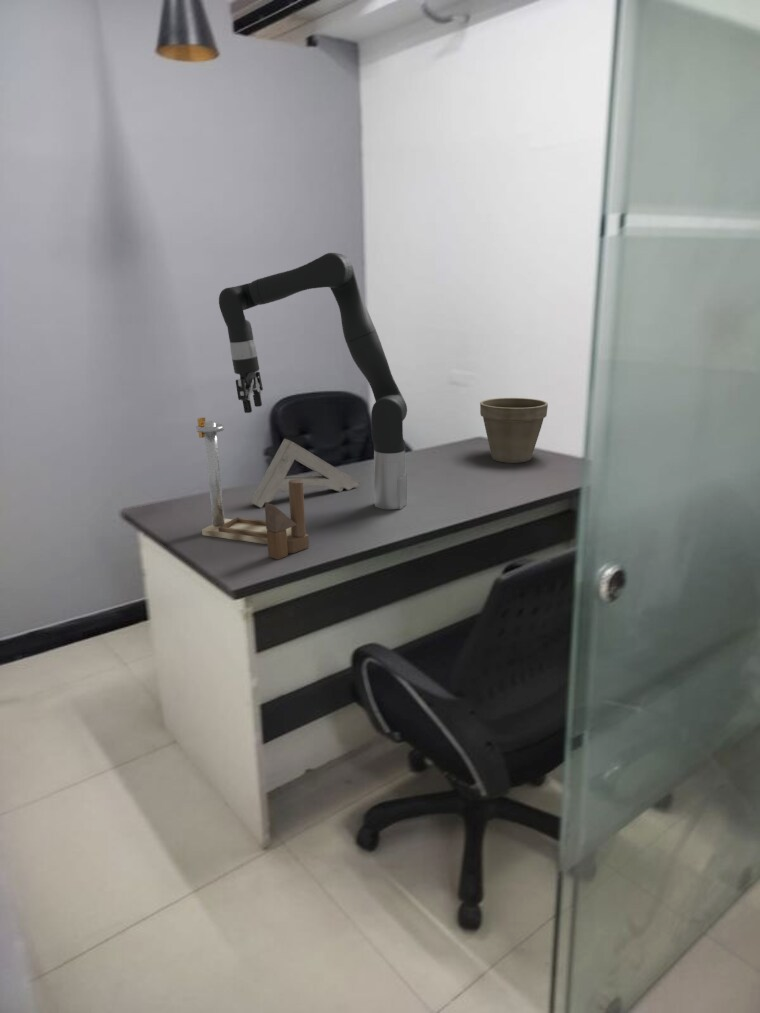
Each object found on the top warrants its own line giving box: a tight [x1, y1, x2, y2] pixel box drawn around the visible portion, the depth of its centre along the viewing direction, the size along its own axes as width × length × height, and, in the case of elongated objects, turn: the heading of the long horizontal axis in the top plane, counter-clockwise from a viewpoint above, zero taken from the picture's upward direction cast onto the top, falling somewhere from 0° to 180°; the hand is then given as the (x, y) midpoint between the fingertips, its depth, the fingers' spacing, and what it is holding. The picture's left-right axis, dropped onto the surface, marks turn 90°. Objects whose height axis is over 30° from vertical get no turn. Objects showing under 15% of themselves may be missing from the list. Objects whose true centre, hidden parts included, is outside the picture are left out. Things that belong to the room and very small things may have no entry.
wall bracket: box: [249, 438, 361, 509], centre depth 216 cm, size 22×4×30 cm
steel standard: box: [196, 417, 225, 527], centre depth 183 cm, size 7×7×31 cm
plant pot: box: [479, 397, 549, 464], centre depth 257 cm, size 25×25×22 cm
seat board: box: [201, 517, 291, 545], centre depth 184 cm, size 24×10×2 cm, turn 69°
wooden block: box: [264, 479, 310, 561], centre depth 169 cm, size 4×11×18 cm, turn 139°
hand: (253, 409), depth 210 cm, fingers open, 8 cm apart
